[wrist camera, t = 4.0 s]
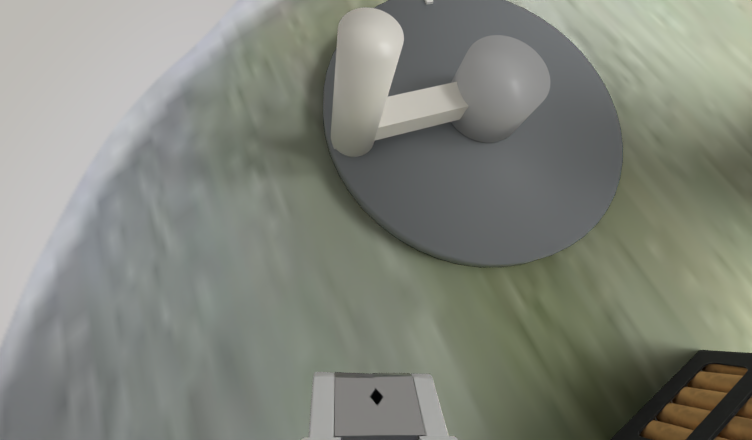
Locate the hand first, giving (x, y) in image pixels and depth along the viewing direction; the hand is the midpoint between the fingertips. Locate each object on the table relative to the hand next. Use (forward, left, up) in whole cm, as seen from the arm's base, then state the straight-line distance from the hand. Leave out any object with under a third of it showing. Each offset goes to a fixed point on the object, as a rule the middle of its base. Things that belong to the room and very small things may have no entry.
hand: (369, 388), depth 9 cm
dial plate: (-16, -13, -14) cm, 25 cm away
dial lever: (-11, -13, -12) cm, 21 cm away
